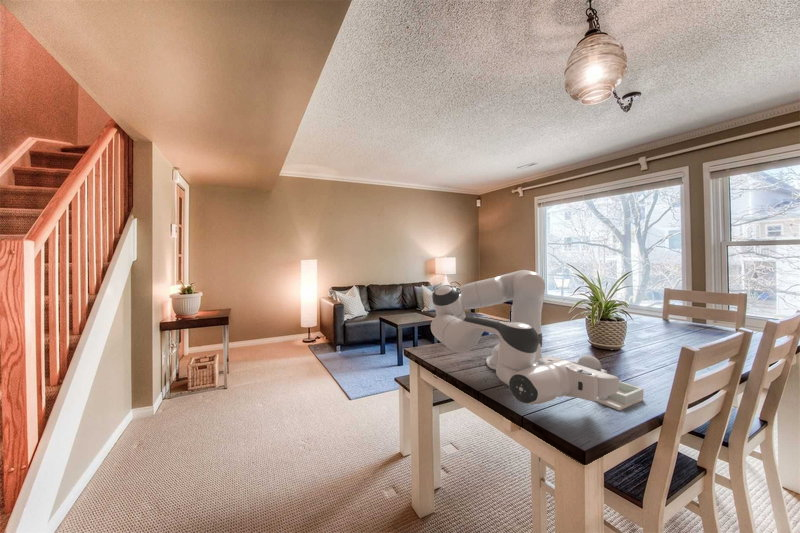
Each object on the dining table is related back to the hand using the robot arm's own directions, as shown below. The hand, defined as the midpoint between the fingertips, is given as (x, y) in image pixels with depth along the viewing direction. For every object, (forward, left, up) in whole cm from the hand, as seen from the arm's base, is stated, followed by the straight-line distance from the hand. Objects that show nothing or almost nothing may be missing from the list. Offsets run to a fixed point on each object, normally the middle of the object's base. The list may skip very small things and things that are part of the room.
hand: (591, 368), depth 88 cm
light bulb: (-1, -1, -6) cm, 6 cm away
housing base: (+9, +8, -12) cm, 17 cm away
